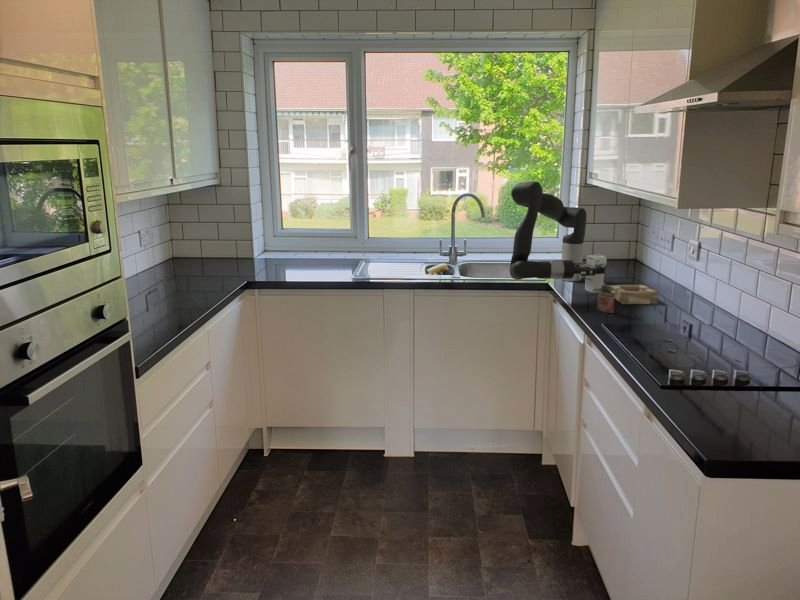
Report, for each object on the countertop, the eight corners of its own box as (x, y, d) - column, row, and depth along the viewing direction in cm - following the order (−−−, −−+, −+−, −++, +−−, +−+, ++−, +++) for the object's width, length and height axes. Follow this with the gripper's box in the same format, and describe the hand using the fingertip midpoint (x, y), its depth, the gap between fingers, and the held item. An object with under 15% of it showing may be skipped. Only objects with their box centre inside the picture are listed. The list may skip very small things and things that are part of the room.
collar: (608, 295, 260) (609, 285, 259) (642, 295, 260) (643, 284, 259) (621, 304, 246) (622, 293, 245) (656, 303, 246) (657, 292, 245)
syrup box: (592, 293, 251) (594, 257, 247) (584, 289, 256) (586, 254, 252) (604, 292, 252) (607, 256, 248) (596, 288, 257) (599, 253, 254)
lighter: (594, 309, 239) (596, 283, 237) (601, 308, 240) (603, 282, 238) (608, 314, 232) (610, 287, 229) (616, 313, 233) (617, 287, 231)
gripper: (566, 263, 243) (608, 263, 244) (556, 257, 257) (596, 256, 258) (565, 282, 245) (607, 281, 246) (555, 274, 259) (595, 274, 260)
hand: (601, 268), depth 252 cm, fingers closed on syrup box, 6 cm apart
